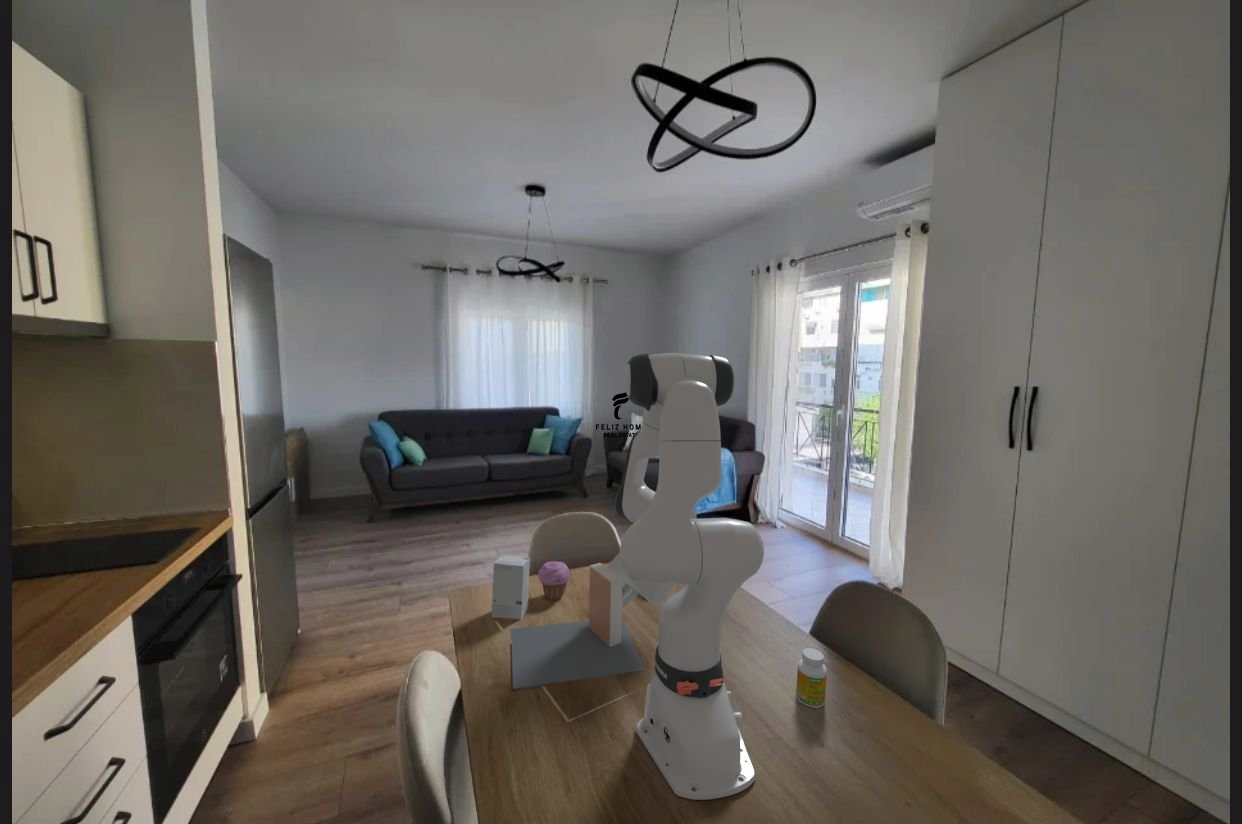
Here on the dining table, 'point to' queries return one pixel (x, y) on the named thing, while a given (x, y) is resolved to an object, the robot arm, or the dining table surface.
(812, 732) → the dining table surface
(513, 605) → the skincare box
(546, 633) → the slate mat
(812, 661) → the supplement bottle
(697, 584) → the robot arm
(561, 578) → the cupcake
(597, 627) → the plain white box
